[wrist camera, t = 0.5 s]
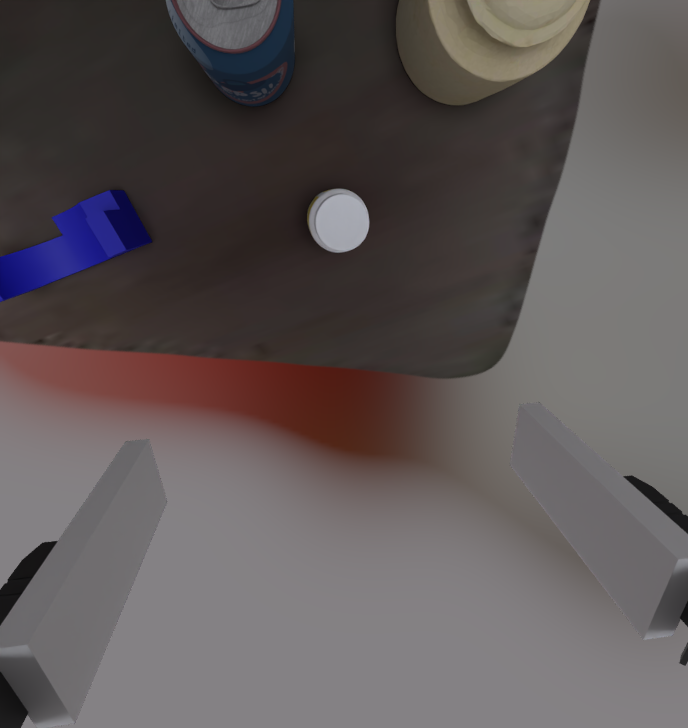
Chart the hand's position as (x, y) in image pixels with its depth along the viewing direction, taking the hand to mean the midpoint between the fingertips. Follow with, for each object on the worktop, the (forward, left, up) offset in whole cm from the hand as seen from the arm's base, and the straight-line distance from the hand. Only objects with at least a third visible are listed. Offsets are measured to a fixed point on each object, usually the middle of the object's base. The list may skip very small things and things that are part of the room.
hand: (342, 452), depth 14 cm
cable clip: (-5, -21, -27) cm, 35 cm away
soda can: (-19, -4, -27) cm, 33 cm away
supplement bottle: (-7, +2, -27) cm, 28 cm away
